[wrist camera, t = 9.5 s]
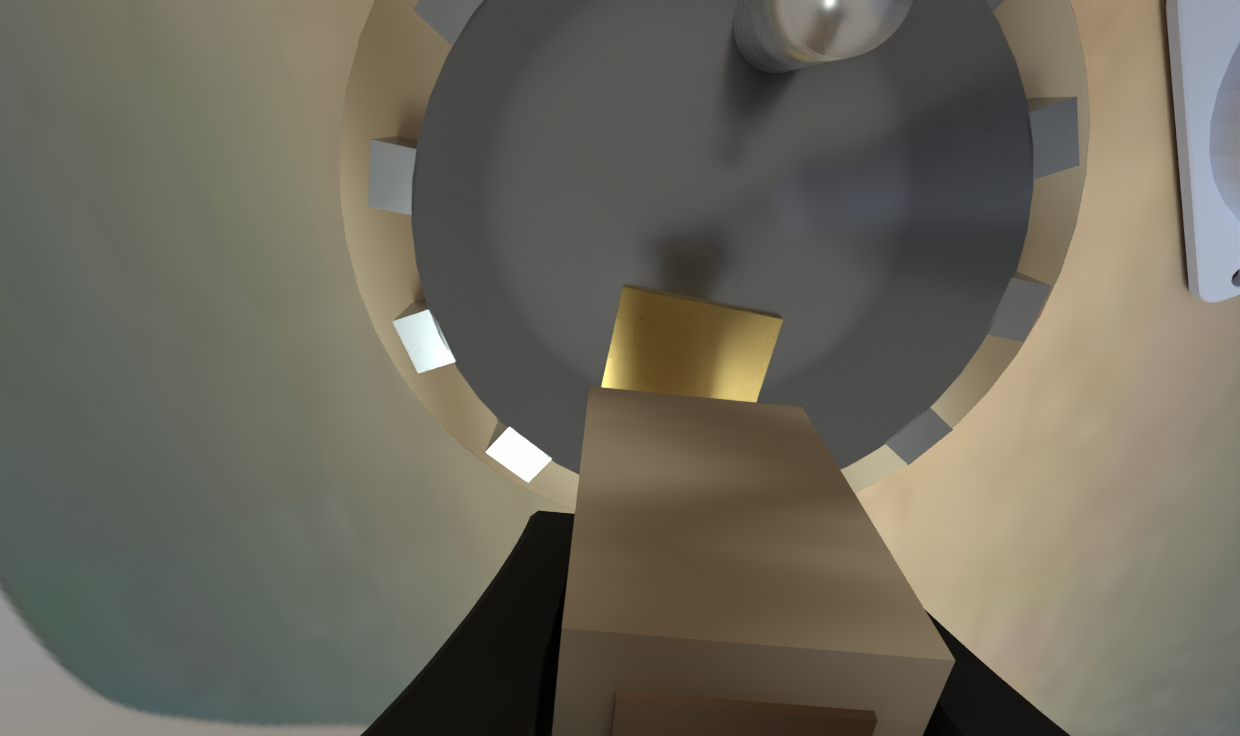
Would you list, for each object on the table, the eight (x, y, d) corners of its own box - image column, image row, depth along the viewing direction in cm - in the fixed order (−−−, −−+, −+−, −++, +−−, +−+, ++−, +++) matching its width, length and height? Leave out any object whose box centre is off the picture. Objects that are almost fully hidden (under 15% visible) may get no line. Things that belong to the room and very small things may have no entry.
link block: (801, 407, 10) (960, 670, 5) (745, 634, 12) (825, 974, 7) (589, 385, 10) (561, 637, 5) (566, 619, 12) (530, 956, 7)
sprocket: (1165, -55, 13) (1527, -164, 8) (888, 536, 19) (989, 696, 14) (419, -255, 11) (260, -539, 6) (376, 445, 17) (275, 584, 12)
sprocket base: (996, -436, 11) (1100, -586, 9) (1113, 391, 17) (1191, 436, 15) (193, 25, 14) (104, 8, 12) (548, 590, 20) (538, 654, 18)
